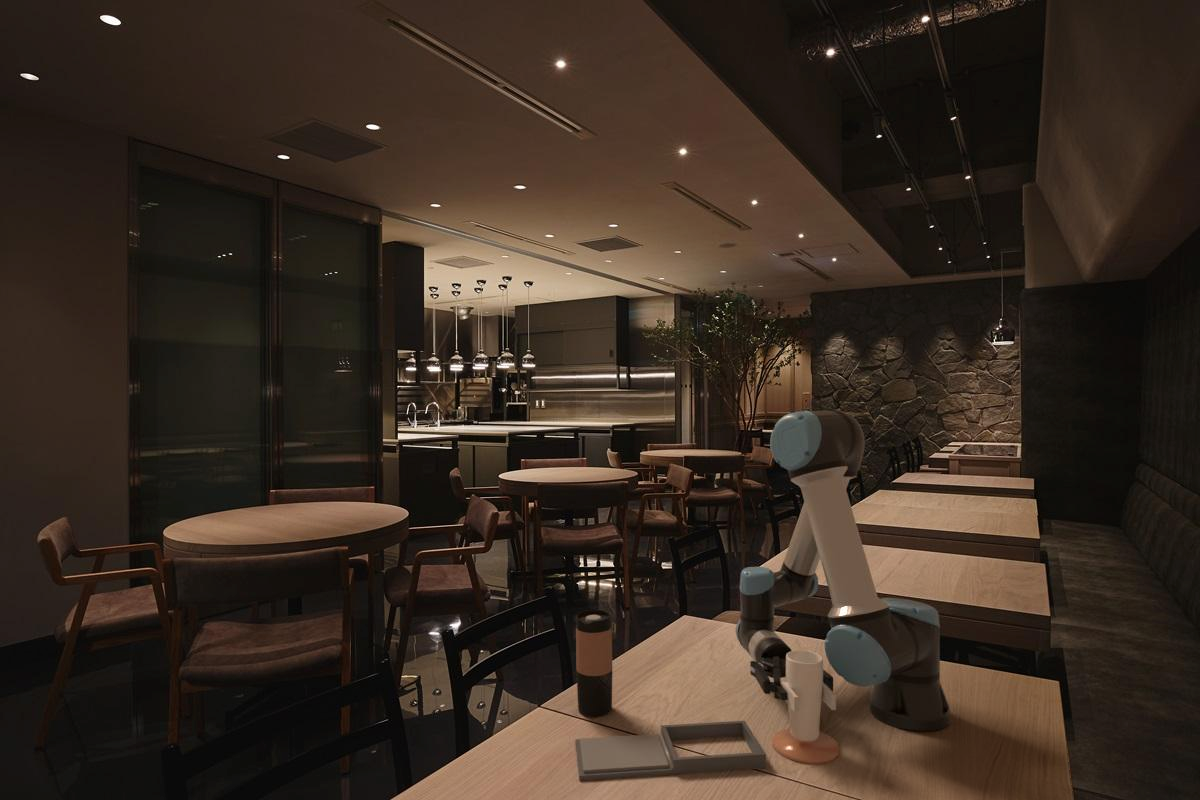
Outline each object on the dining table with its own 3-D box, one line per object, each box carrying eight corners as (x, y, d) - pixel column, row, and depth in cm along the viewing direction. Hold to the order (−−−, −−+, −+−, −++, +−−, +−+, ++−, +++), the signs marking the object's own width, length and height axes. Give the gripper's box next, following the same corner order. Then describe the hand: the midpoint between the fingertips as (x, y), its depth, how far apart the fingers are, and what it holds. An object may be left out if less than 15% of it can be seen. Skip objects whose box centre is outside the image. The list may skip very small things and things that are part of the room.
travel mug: (605, 698, 149) (603, 607, 149) (618, 713, 142) (617, 618, 142) (572, 705, 147) (570, 612, 146) (584, 720, 139) (582, 623, 139)
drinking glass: (778, 735, 128) (778, 656, 128) (797, 723, 133) (797, 647, 133) (812, 749, 123) (812, 667, 123) (829, 735, 128) (829, 656, 128)
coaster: (823, 729, 134) (822, 726, 134) (850, 761, 122) (850, 758, 122) (763, 732, 133) (763, 729, 133) (785, 766, 121) (785, 762, 121)
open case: (744, 733, 133) (744, 720, 133) (766, 768, 121) (766, 754, 121) (575, 743, 130) (575, 730, 130) (579, 780, 118) (579, 766, 118)
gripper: (815, 669, 147) (866, 721, 124) (727, 673, 145) (763, 727, 122) (815, 635, 147) (866, 680, 124) (727, 638, 145) (762, 685, 122)
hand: (815, 703), depth 123 cm, fingers closed on drinking glass, 6 cm apart
